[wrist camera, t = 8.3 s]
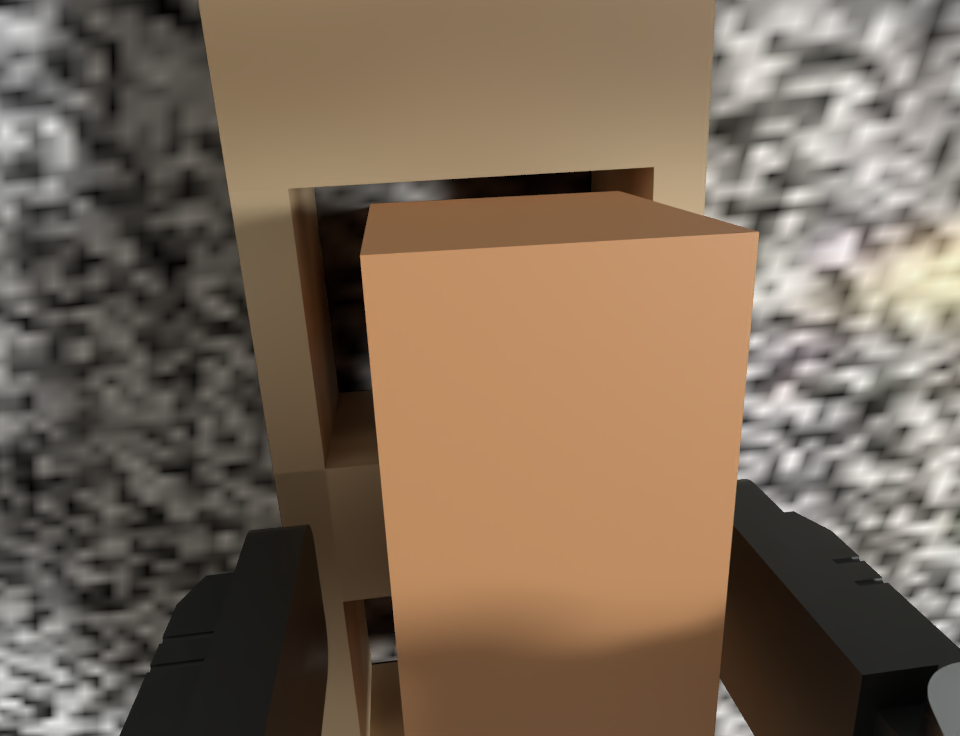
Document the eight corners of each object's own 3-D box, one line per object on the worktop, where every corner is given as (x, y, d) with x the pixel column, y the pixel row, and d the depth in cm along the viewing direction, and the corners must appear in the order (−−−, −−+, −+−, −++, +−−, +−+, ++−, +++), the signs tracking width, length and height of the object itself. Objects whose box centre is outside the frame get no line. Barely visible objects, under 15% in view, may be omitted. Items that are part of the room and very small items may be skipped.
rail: (225, -125, 10) (163, -221, 7) (637, -132, 11) (727, -223, 8) (358, 816, 16) (351, 965, 13) (619, 778, 17) (666, 912, 14)
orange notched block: (375, 181, 12) (359, 254, 5) (555, 172, 12) (759, 231, 5) (412, 634, 15) (433, 1051, 8) (557, 618, 15) (689, 1007, 8)
